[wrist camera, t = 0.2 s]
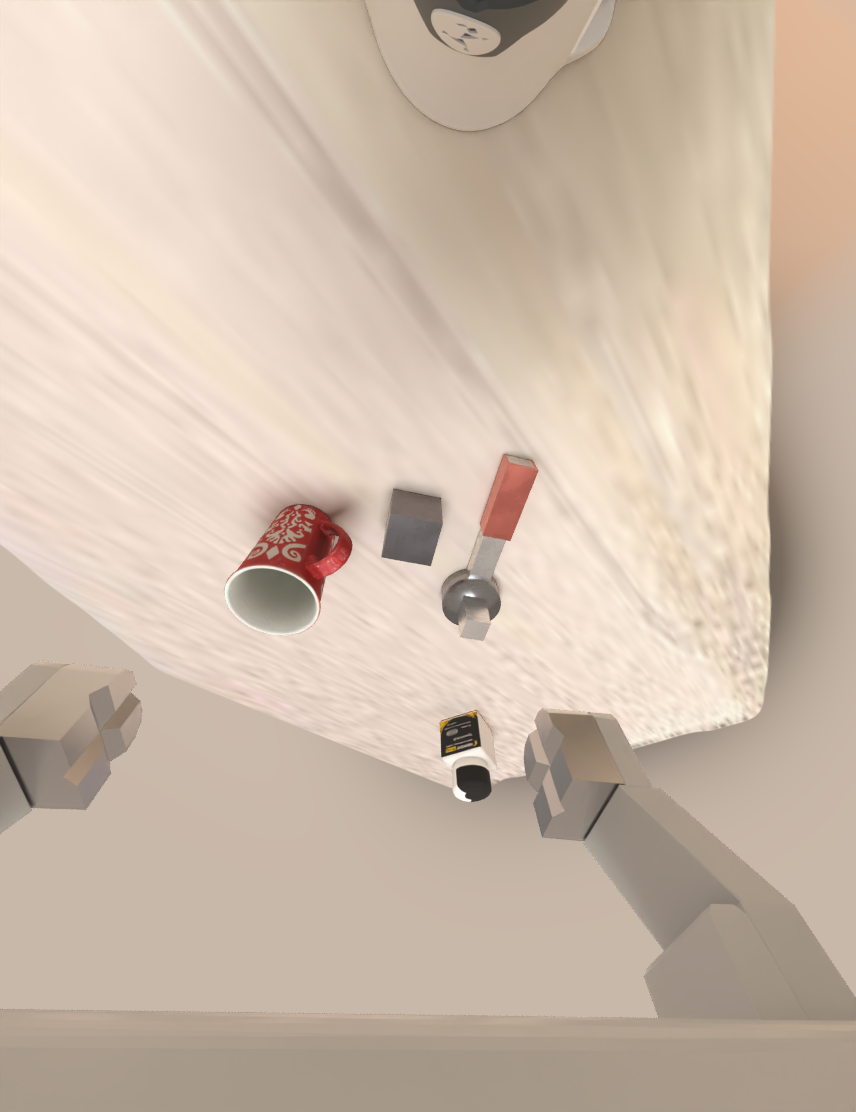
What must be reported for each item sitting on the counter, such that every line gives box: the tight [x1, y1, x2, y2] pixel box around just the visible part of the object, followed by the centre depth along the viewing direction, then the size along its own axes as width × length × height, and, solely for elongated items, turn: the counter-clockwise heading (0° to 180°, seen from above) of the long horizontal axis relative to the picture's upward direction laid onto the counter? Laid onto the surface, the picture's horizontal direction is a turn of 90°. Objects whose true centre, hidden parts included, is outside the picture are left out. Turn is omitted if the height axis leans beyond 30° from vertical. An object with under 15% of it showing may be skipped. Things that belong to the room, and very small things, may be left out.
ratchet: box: [442, 455, 538, 641], centre depth 49 cm, size 23×8×8 cm, turn 167°
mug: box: [224, 505, 352, 636], centre depth 45 cm, size 13×9×14 cm
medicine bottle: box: [440, 711, 497, 802], centre depth 69 cm, size 7×7×12 cm
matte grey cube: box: [382, 489, 443, 566], centre depth 47 cm, size 6×6×6 cm
